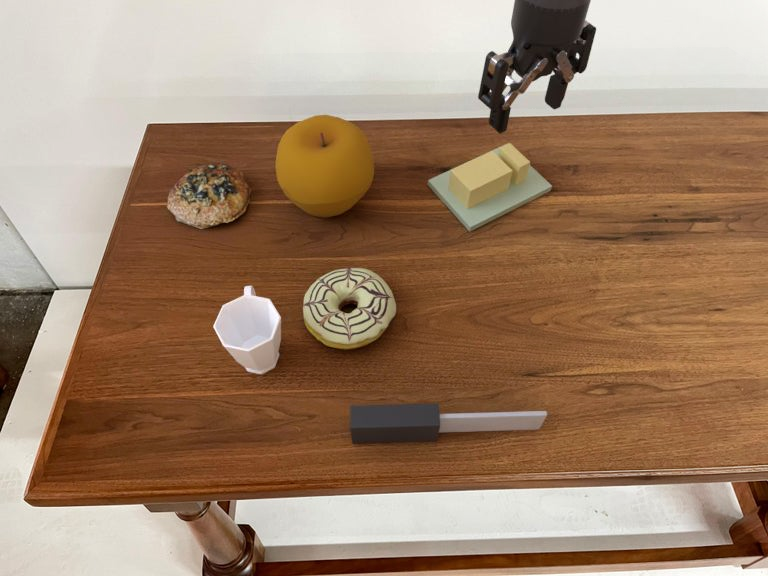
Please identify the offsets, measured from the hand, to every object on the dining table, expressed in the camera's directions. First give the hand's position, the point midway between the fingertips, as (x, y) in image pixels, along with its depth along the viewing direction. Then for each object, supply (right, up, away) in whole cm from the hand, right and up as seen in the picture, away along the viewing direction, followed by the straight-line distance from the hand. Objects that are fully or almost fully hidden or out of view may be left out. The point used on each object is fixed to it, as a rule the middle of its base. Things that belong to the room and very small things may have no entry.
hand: (525, 116), depth 74 cm
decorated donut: (-21, -24, -1) cm, 33 cm away
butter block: (-4, -7, +9) cm, 12 cm away
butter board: (-3, -7, +10) cm, 13 cm away
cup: (-32, -28, -4) cm, 42 cm away
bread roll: (-41, -9, +9) cm, 43 cm away
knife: (-11, -36, -9) cm, 39 cm away
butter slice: (0, -5, +10) cm, 12 cm away
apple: (-25, -9, +9) cm, 28 cm away
